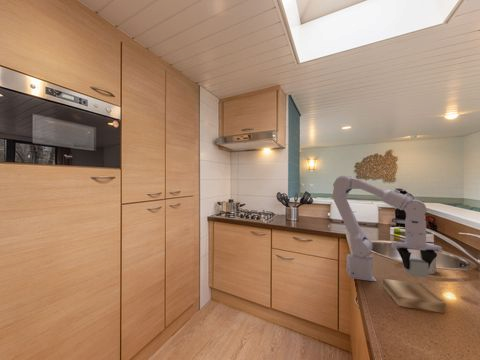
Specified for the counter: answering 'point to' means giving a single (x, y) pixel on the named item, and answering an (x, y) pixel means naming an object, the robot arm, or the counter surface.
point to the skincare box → (433, 265)
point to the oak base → (413, 295)
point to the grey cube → (418, 267)
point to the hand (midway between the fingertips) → (415, 269)
